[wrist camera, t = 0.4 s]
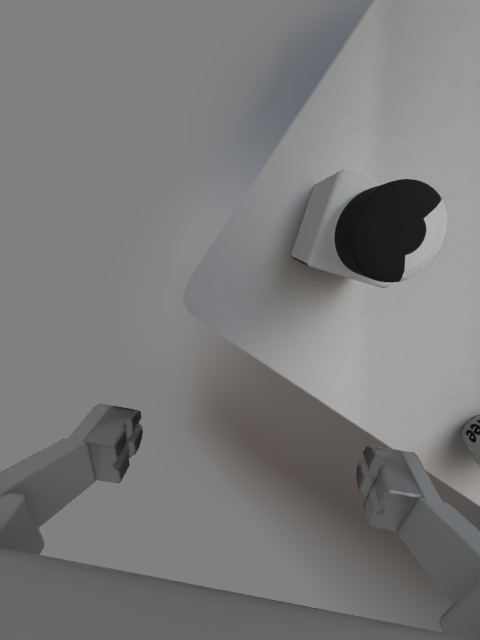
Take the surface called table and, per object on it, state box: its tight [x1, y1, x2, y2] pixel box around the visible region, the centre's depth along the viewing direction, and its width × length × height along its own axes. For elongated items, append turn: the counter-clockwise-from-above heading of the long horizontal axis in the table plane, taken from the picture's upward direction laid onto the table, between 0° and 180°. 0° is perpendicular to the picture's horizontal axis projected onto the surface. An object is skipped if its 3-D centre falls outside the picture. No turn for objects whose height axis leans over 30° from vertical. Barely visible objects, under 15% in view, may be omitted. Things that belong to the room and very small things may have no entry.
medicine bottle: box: [291, 170, 447, 288], centre depth 22 cm, size 7×7×12 cm
